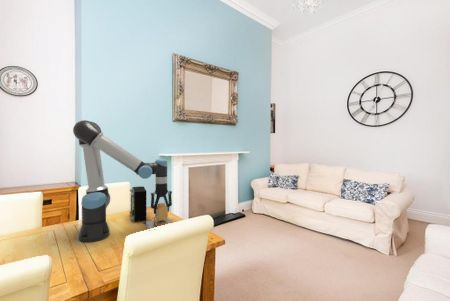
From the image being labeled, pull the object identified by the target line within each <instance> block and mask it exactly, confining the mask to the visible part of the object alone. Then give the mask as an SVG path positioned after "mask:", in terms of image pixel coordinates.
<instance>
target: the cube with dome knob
mask: <svg viewBox="0 0 450 301" xmlns="http://www.w3.org/2000/svg"><path fill="white" fill-rule="evenodd" d="M157 209H158V219H157V220H158V221H162V220H167V218H168V217H167V206H166V203H165V202H161V203H160V202H158V205H157Z"/></svg>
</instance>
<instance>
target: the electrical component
mask: <svg viewBox="0 0 450 301" xmlns="http://www.w3.org/2000/svg"><path fill="white" fill-rule="evenodd" d="M129 192H130V210H129V214H130V215H131V217H130V221H133V223H139V222H146V221H147V189H146V187H145V186H133V187H131V188H130V189H129Z"/></svg>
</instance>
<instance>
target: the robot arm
mask: <svg viewBox="0 0 450 301" xmlns="http://www.w3.org/2000/svg"><path fill="white" fill-rule="evenodd" d="M72 133H73V136H75V138H76V139H77V140H78V144H79V145H78V146H80V147H82V151H83V159H84V165H85V173H86V179H87V180H86V181H87V186H88V187H87V189H86V190H85V194H84V195H83V197H82V198H81V204H80V205H81V226H80V229H79V233H78V238H77V239H78V241H79V242H83V243H93V242H94V243H95V242H97V241H99V242H100V241H101V240H104V239H106V238H108V237H109V236H110V234H111V233H110V232H111V231H110V228H109V225H108V222H107V208H108V206H109V205H110V203H111V195H110V193H109V188H108V186H107V185H106V184H105V178H104V170H103V164H102V155H101V152H103V153H104V154H105V155H107V156H109V157H110V158H112V159H113V160H115V161H117V162H119V164H121V165H123V166H124V167H126V168H128V169H129V170H131V171H133V173H135V174H136V175H137V176H139V178H141V179H144V180H146V179H149V178H150V177H151V176H152V175H155V179H154V180H155V185H154V186H155V190H154V192H150V195H151V197H150V198H151V200H150V208H151V209H153V214H154V217H157V219H158V209H157V206H158V204H159V203H160V198H163V199H164V203H165V205H166V206H167V218H168V216H169V214H168V213H169V212H170V207H171V206H172V205H173V203H172V202H173V200H172V194H173V191H172V190H168V160H167V159H164V158H161V159H160V158H159V159H155V162H144V161H142V160H141V159H139V158H138V157H136V156H135V155H133V154H132V153H130V152H129V151H128V150H126V149H124V148H123V147H122V146H120V145H119V144H118V143H115V142H114V141H113V140H111V139H109V138H108V137H107V136H105V135H104V132H103V131H102V129H101V126H100V125H98V123H95V122H94V121H89V120H83V119H82V120H79V121H78V122H76V123H75V124H74V126H73V128H72ZM155 196H156V198H155Z"/></svg>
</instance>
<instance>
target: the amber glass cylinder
mask: <svg viewBox="0 0 450 301" xmlns="http://www.w3.org/2000/svg"><path fill="white" fill-rule="evenodd" d="M153 220H154V226H157V217H155V216H154V217H153Z"/></svg>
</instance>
